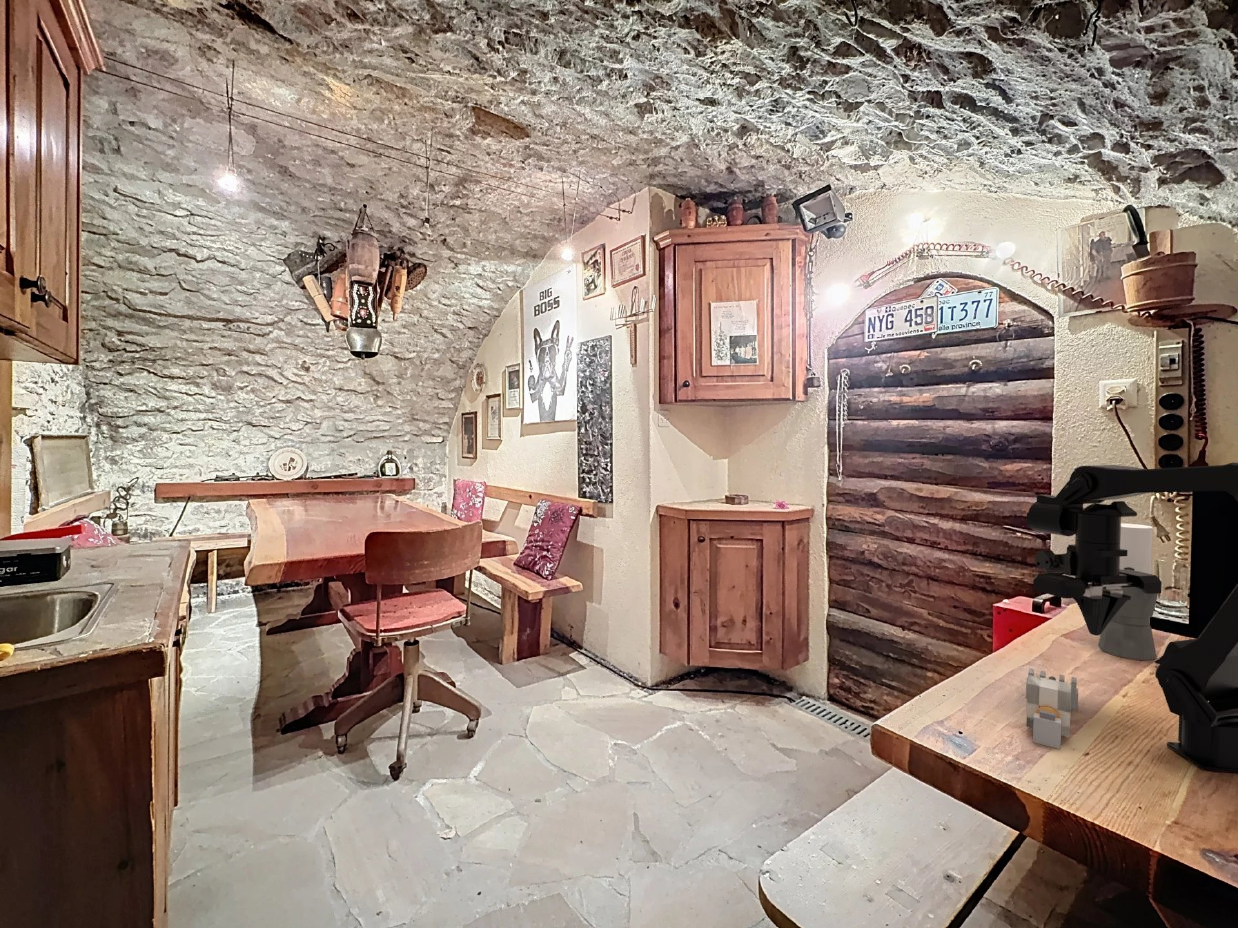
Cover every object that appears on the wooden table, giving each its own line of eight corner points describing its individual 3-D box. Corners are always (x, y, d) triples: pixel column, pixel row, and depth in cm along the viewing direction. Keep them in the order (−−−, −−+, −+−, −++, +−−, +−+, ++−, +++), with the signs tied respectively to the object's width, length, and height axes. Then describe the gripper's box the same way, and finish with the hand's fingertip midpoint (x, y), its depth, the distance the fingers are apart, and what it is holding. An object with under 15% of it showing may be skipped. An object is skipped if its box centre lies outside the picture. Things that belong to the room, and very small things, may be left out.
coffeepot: (1178, 665, 112) (1182, 575, 111) (1127, 664, 113) (1130, 574, 112) (1118, 638, 128) (1120, 558, 127) (1073, 637, 128) (1075, 558, 128)
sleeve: (1028, 716, 90) (1029, 674, 90) (1069, 726, 87) (1071, 683, 87) (1026, 726, 87) (1027, 683, 87) (1069, 737, 84) (1070, 692, 84)
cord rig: (1027, 693, 100) (1027, 666, 100) (1077, 704, 96) (1078, 676, 96) (1017, 737, 86) (1018, 705, 86) (1077, 753, 81) (1077, 720, 81)
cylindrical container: (1100, 632, 132) (1103, 524, 130) (1117, 627, 135) (1120, 522, 133) (1138, 641, 125) (1142, 529, 124) (1155, 636, 128) (1159, 526, 127)
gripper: (1098, 531, 103) (1096, 616, 104) (1006, 535, 100) (1005, 622, 101) (1165, 542, 92) (1162, 637, 93) (1065, 546, 89) (1062, 644, 90)
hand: (1094, 634), depth 94 cm, fingers closed
